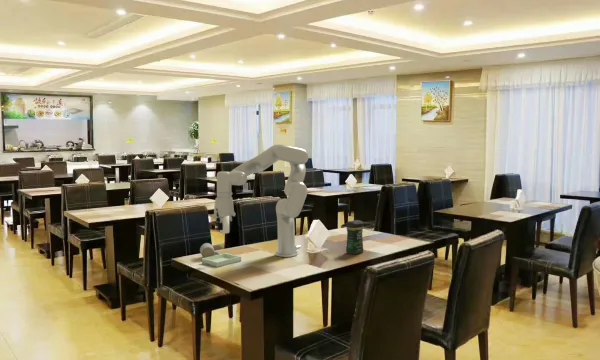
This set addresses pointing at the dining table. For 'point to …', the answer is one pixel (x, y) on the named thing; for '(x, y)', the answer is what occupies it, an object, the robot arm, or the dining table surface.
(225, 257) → the tray
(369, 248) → the dining table surface
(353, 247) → the coffee jar
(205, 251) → the ceramic mug
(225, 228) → the shaker
